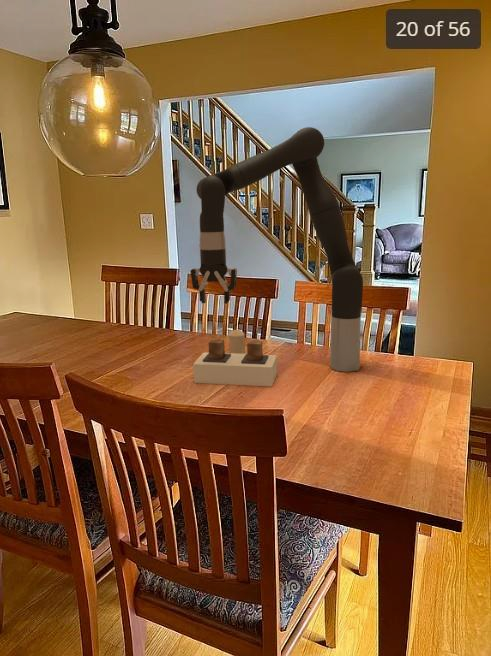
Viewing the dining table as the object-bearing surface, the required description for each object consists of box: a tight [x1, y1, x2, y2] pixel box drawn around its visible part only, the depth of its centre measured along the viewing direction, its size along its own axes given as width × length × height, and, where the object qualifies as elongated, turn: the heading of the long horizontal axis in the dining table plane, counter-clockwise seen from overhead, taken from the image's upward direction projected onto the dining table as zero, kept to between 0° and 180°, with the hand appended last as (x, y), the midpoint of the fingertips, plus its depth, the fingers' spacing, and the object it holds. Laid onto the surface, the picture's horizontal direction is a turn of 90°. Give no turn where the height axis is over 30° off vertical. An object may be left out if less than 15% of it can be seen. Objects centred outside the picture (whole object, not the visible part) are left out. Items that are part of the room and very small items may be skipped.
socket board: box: [192, 351, 278, 387], centre depth 153 cm, size 24×12×7 cm, turn 79°
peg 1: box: [208, 338, 226, 359], centre depth 153 cm, size 4×4×7 cm
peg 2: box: [246, 339, 264, 361], centre depth 150 cm, size 4×4×7 cm
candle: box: [228, 329, 246, 354], centre depth 172 cm, size 6×6×10 cm
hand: (214, 302), depth 149 cm, fingers open, 6 cm apart
